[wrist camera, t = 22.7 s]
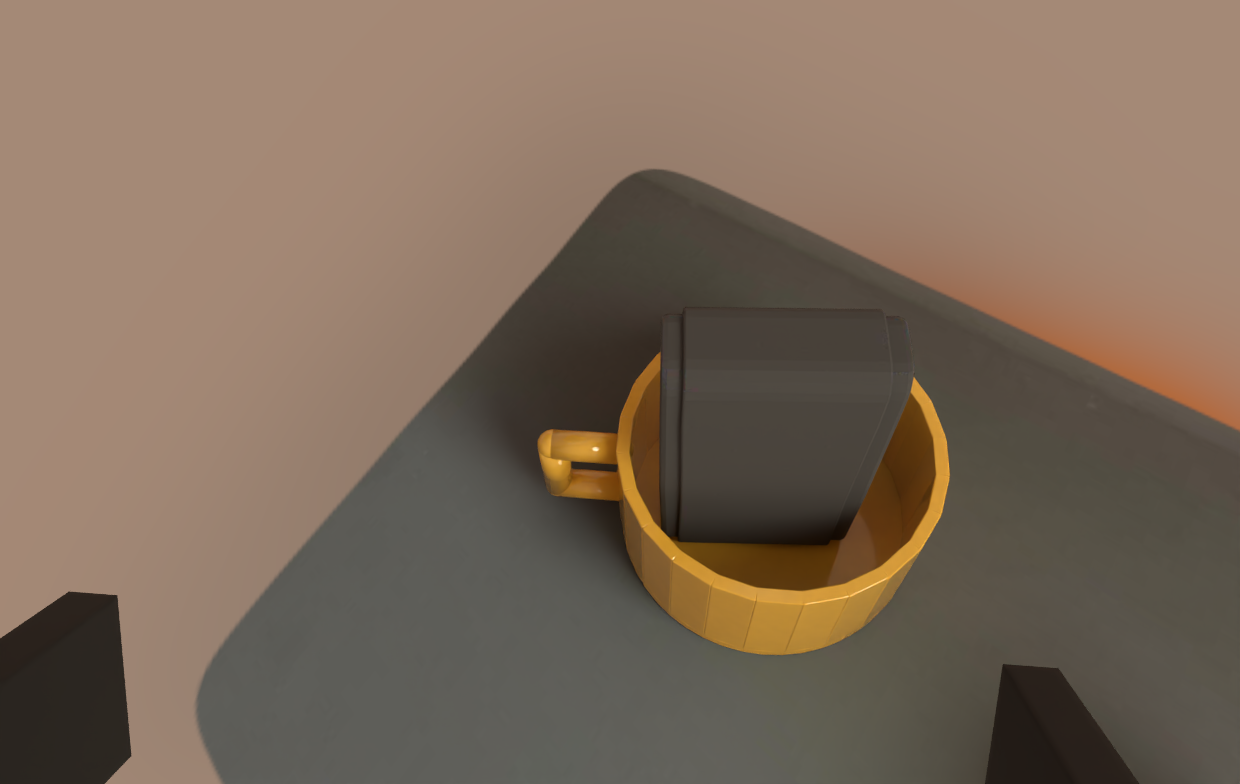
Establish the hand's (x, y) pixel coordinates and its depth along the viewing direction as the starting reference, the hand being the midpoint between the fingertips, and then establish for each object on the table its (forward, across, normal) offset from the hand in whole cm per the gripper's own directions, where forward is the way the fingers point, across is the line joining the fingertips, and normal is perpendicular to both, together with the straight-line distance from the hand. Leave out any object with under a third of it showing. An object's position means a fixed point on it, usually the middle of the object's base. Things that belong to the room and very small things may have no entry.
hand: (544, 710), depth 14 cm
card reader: (+32, +5, -9) cm, 34 cm away
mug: (+33, +4, -9) cm, 34 cm away
